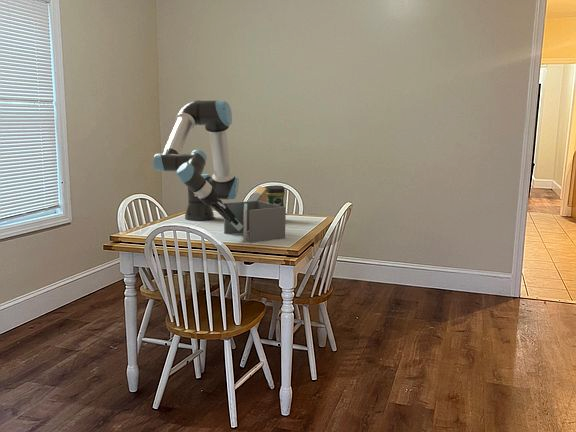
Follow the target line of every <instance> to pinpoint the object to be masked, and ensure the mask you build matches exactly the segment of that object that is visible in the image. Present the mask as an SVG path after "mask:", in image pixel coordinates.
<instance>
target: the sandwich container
mask: <svg viewBox="0 0 576 432" xmlns="http://www.w3.org/2000/svg"><path fill="white" fill-rule="evenodd" d="M266 188H267V187H264V186H258V187H257V188H256V189H255V190H254V191H253V193H252V194H251V195H250V197H249V198H248V199H247V201H261V202H266V203H267V195H266Z"/></svg>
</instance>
